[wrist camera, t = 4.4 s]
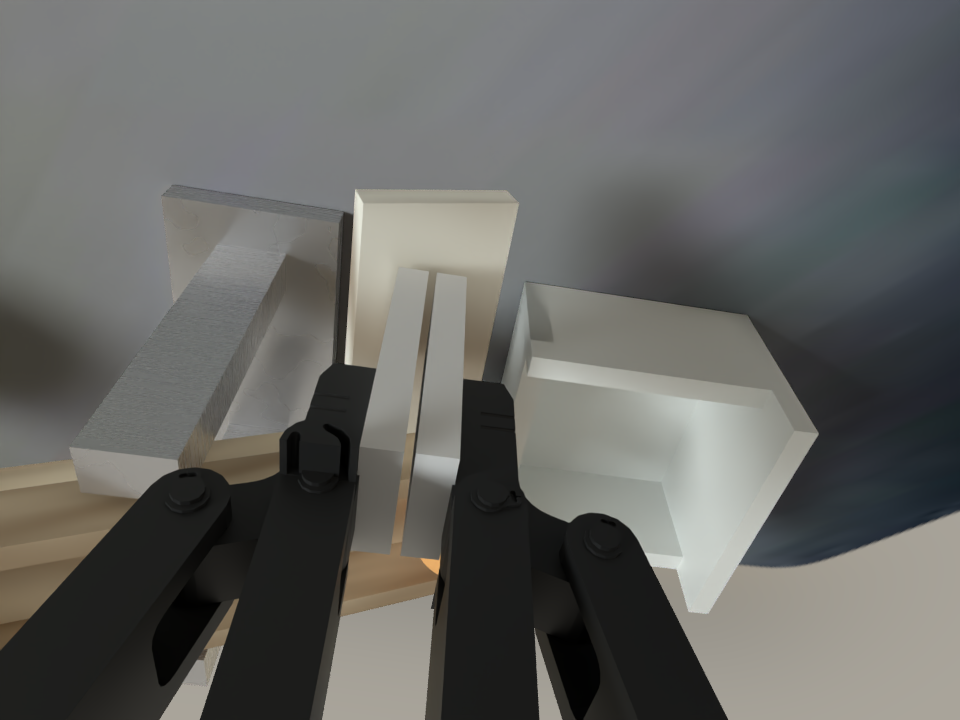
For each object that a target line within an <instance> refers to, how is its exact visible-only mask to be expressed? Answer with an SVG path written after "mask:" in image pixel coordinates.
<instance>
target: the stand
mask: <svg viewBox="0 0 960 720" xmlns="http://www.w3.org/2000/svg"><path fill="white" fill-rule="evenodd" d="M161 198H162V207H163V216H164V224H165V233H166V242H167V251H168V259H169V268H170V277H171V286H172V294H173V303H174V305H173V306H172V307H171V309H170V310H169V311H168V313H167V314H166V315H165V317H164V318H163V320H162V321H161V322H160V324H159V325H158V326H157V328H156V329H155V330H154V332H153V333H152V335H151V336H150V337H149V339H148V340H147V341H146V343H145V344H144V346H143V347H142V348H141V350H140V351H139V352H138V354H137V355H136V356H135V358H134V359H133V361H132V362H131V363H130V365H129V366H128V367H127V369H126V370H125V371H124V373H123V374H122V376H121V377H120V378H119V380H118V381H117V382H116V384H115V385H114V387H113V388H112V389H111V391H110V392H109V393H108V395H107V396H106V397H105V399H104V400H103V402H102V403H101V404H100V406H99V407H98V408H97V410H96V411H95V412H94V414H93V415H92V417H91V418H90V419H89V421H88V422H87V423H86V425H85V426H84V428H83V429H82V430H81V432H80V433H79V434H78V436H77V437H76V438H75V440H74V441H73V443H72V444H71V445H70V447H69V448H70V452H71V456H72V460H73V464H74V468H75V472H76V475H77V479H78V483H79V487H80V491H81V492H82V493H91V494H99V495H108V496H117V497H125V498H134V499H139V498H140V497H141V496H142V495H143V493H144V492H145V491H146V490H147V489H148V488H149V487H150V486H151V485H152V484H153V483H154V482H156V481H157V480H158V479H159V478H161V477H162V476H163V475H166V474H168V473H171V472H173V471H176V470H178V469H184V468H192V467H198V468H201V466H202V464H203V462H204V460H205V458H206V456H207V454H208V452H209V450H210V448H211V446H212V444H213V441H216V440H224V439H232V438H240V437H247V436H255V435H263V434H270V433H278V432H284V431H285V430H286V429H287V428H289V427H290V426H292V425H293V424H295V423H297V422H300V421H303V420H305V418H306V415H307V412H308V409H309V408H310V403H311V400H312V397H313V395H314V391H315V388H316V385H317V382H318V379H319V376H320V375H321V374H322V373H323V372H324V371H325V370H326V369H328V368H329V367H330V366H331V365H332V364H333V363H336V351H337V332H338V313H339V294H340V275H341V256H342V237H343V217H344V212H342V211H336V210H329V209H323V208H317V207H310V206H304V205H297V204H291V203H285V202H278V201H272V200H266V199H259V198H253V197H246V196H240V195H234V194H227V193H221V192H215V191H208V190H202V189H195V188H189V187H183V186H176V185H172V186H171V187H170V188H169V189H168V190H167V191H166V192H165V193H164V194H163V195H161ZM220 647H221V646H217V647H213V648H209V649H205V650H203V651H202V653H201V654H200V656H199V658H198V659H197V661H196V662H195V664H194V666H193V667H192V669H191V670H190V672H189V673H188V675H187V677H186V678H185V680H184V681H183V683H182V684H188V685H199V686H207V685H208V682H209V679H210V676H211V673H212V671H213V668H214V665H215V662H216V659H217V656H218V653H219V650H220Z"/></svg>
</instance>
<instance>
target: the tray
mask: <svg viewBox="0 0 960 720" xmlns="http://www.w3.org/2000/svg"><path fill="white" fill-rule="evenodd" d="M501 384H504V385H505V387H506V389H507V390H508V392H509V393H510V395H511V396H512V398H513V400H514V413H515V417H514V420H515V429H516V430H515V433H516V445H517V461H518V478H519V484H520V488H521V489H522V491H523V492H524V494H525V497H526V498H527V499H528V500H529V501H530V503H531V504H532V505H534V506H535V507H537V508H538V509H539V510H541V511H543V512H545V513H547V514H549V515H551V516H553V517H556V518H558V519H561V520H564V521H566V522H569V523H570V522H571V521H572V520H573V519H575V518H576V517H577V516H578V515H582V514H586V513H590V512H591V513H601V514H606V515H608V516H611V517H613V518H616V519H618V520H619V521H621V522H622V523H623V524H625V525H626V526H627V527H629V528H630V530H631V531H632V532H633V534H634V535H635V536H636V538H637V539H638V541H639V543H640V545H641V547H642V549H643V551H644V553H645V555H646V557H647V559H648V561H649V563H650V565H651V566H653V567H663V568H670V569H677V572H678V576H679V580H680V583H681V587H682V590H683V593H684V597H685V601H686V604H687V608H688V611H689V612H696V613H705V614H708V613H709V611H710V610H711V608H712V606H713V605H714V603H715V602H716V600H717V598H718V597H719V595H720V593H721V592H722V590H723V589H724V587H725V585H726V584H727V582H728V580H729V579H730V577H731V576H732V574H733V572H734V571H735V569H736V568H737V566H738V564H739V563H740V561H741V559H742V558H743V556H744V555H745V553H746V551H747V550H748V548H749V546H750V545H751V543H752V542H753V540H754V538H755V537H756V535H757V533H758V532H759V530H760V529H761V527H762V525H763V524H764V522H765V520H766V519H767V517H768V516H769V514H770V512H771V511H772V509H773V508H774V506H775V504H776V503H777V501H778V499H779V498H780V496H781V495H782V493H783V491H784V490H785V488H786V486H787V485H788V483H789V482H790V480H791V478H792V477H793V475H794V473H795V472H796V470H797V469H798V467H799V465H800V464H801V462H802V460H803V459H804V457H805V456H806V454H807V452H808V451H809V449H810V447H811V446H812V444H813V443H814V441H815V439H816V438H817V436H818V435H819V433H818V431H817V430H816V428H815V426H814V425H813V423H812V421H811V420H810V418H809V416H808V415H807V413H806V411H805V410H804V408H803V407H802V405H801V403H800V402H799V400H798V398H797V397H796V395H795V393H794V392H793V390H792V388H791V387H790V385H789V383H788V382H787V380H786V378H785V377H784V375H783V373H782V372H781V370H780V368H779V367H778V365H777V363H776V362H775V360H774V359H773V357H772V355H771V354H770V352H769V350H768V349H767V347H766V345H765V344H764V342H763V340H762V339H761V337H760V335H759V334H758V332H757V330H756V329H755V327H754V325H753V324H752V322H751V320H750V319H749V317H748V315H743V314H736V313H729V312H723V311H716V310H709V309H703V308H696V307H690V306H683V305H676V304H670V303H663V302H656V301H650V300H643V299H637V298H630V297H623V296H617V295H610V294H604V293H597V292H590V291H584V290H577V289H570V288H564V287H557V286H551V285H544V284H537V283H531V282H525V283H524V287H523V291H522V296H521V300H520V304H519V309H518V313H517V317H516V321H515V326H514V330H513V334H512V338H511V343H510V347H509V351H508V355H507V360H506V364H505V368H504V373H503V377H502V381H501Z"/></svg>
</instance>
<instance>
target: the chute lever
mask: <svg viewBox="0 0 960 720" xmlns="http://www.w3.org/2000/svg"><path fill="white" fill-rule="evenodd" d="M518 206H519V203H518V202H517V201H516V200H515V199H514V198H513V197H512V196H511V194H510V193H509V192H508V191H507V190H388V189H355V204H354V220H353V236H352V252H351V268H350V285H349V301H348V317H347V333H346V349H345V364H347V365H355V366H362V367H369V368H377V364H378V360H379V355H380V351H381V346H382V341H383V337H384V332H385V328H386V323H387V319H388V314H389V309H390V305H391V300H392V296H393V291H394V286H395V282H396V277H397V273H398V268H399V267H403V268H410V269H417V270H423V271H429V275H428V282H427V290H426V297H425V304H424V311H423V319H422V326H421V333H420V341H419V348H418V355H417V362H416V370H415V377H414V384H413V392H412V399H411V406H410V413H409V421H408V428H407V435H406V443H405V450H404V457H403V464H402V472H401V479H400V486H399V493H398V500H397V508H396V515H395V522H394V529H393V536H392V544H391V551H390V555H388V554H379V553H369V552H360V551H350V556H349V564H348V576H347V581H346V587H345V593H344V598H343V604H342V609H341V615H340V617H341V616H345V615H349V614H354V613H358V612H362V611H366V610H370V609H374V608H379V607H383V606H387V605H391V604H395V603H399V602H403V601H407V600H412V599H416V598H420V597H424V596H428V595H432V594H434V592H435V587H436V583H437V578H438V574H436V573H434V572H433V571H432V570H430V569H429V568H428V567H427V566H426V565H425V564H424V563H423V561H422V560H421V558H415V557H406V556H400V555H401V547H402V539H403V531H404V522H405V514H406V506H407V498H408V489H409V481H410V473H411V465H412V457H413V448H414V440H415V432H416V424H417V415H418V407H419V399H420V391H421V382H422V374H423V366H424V358H425V351H426V345H427V338H428V331H429V324H430V317H431V310H432V304H433V297H434V290H435V283H436V276H437V273H443V274H450V275H457V276H464V277H467V288H466V315H465V341H464V367H463V379H470V380H477V381H481V380H482V376H483V371H484V366H485V362H486V357H487V352H488V347H489V343H490V338H491V333H492V329H493V324H494V319H495V315H496V310H497V305H498V300H499V296H500V291H501V286H502V282H503V277H504V272H505V267H506V263H507V258H508V253H509V249H510V244H511V239H512V234H513V230H514V225H515V220H516V216H517V211H518ZM283 433H284V432H278V433H270V434H263V435H255V436H247V437H240V438H232V439H224V440H216V441H213V444H212V446H211V448H210V450H209V452H208V454H207V456H206V458H205V460H204V462H203V464H202V466H201V468H205V469H211V470H213V471H215V472H217V473H219V474H221V475H223V477H224V478H225V479H226V481H227V482H228V483H229V485H232V484H239V483H247V482H253V481H258V480H262V479H265V478H268V477H270V476H273V475H275V474H276V473H278V472H279V471H280V470H279V439H280V437H281V436H282V434H283ZM137 500H138V499H134V498H125V497H117V496H108V495H99V494H91V493H82V492H81V491H80V487H79V483H78V479H77V475H76V472H75V468H74V464H73V460H72V459H70V460H62V461H54V462H47V463H39V464H31V465H24V466H16V467H8V468H0V650H1V649H2V648H3V647H4V646H5V645H6V644H7V643H8V641H9V640H10V639H11V638H12V637H13V636H14V635H15V634H16V633H17V632H18V630H19V629H20V628H21V627H22V626H23V625H24V624H25V623H26V622H27V621H28V620H29V618H30V617H31V616H32V615H33V614H34V613H35V612H36V611H37V610H38V609H39V607H40V606H41V605H42V604H43V603H44V602H45V601H46V600H47V599H48V598H49V596H50V595H51V594H52V593H53V592H54V591H55V590H56V589H57V588H58V587H59V586H60V584H61V583H62V582H63V581H64V580H65V579H66V578H67V577H68V576H69V575H70V573H71V572H72V571H73V570H74V569H75V568H76V567H77V566H78V565H79V564H80V563H81V561H82V560H83V559H84V558H85V557H86V556H87V555H88V554H89V553H90V552H91V550H92V549H93V548H94V547H95V546H96V545H97V544H98V543H99V542H100V541H101V539H102V538H103V537H104V536H105V535H106V534H107V533H108V532H109V531H110V530H111V529H112V527H113V526H114V525H115V524H116V523H117V522H118V521H119V520H120V519H121V518H122V516H123V515H124V514H125V513H126V512H127V511H128V510H129V509H130V508H131V507H132V506H133V504H134V503H135V502H136V501H137ZM238 601H239V599H234V601H233V604H232V606H231V607H230V609H229V610H228V612H227V613H226V615H225V617H224V618H223V620H222V621H221V623H220V624H219V626H218V628H217V629H216V631H215V632H214V634H213V636H212V637H211V639H210V640H209V642H208V643H207V645H206V647H205V648H204V650H205V649H209V648H213V647H217V646H222V645H224V644H225V641H226V638H227V635H228V632H229V628H230V625H231V622H232V619H233V616H234V613H235V610H236V607H237V604H238Z"/></svg>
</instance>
